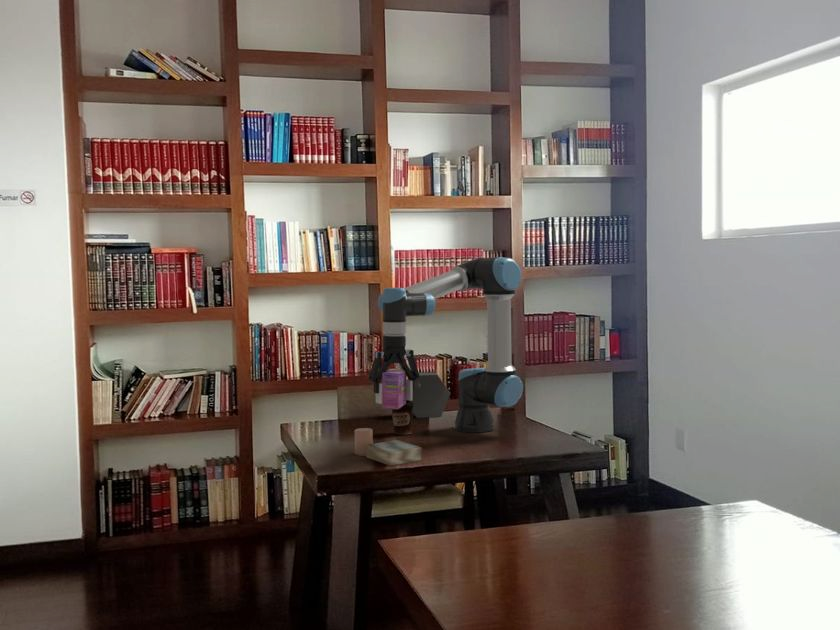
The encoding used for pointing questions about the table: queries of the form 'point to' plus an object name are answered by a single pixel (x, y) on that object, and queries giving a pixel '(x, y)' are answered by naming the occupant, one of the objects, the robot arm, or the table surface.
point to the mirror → (393, 452)
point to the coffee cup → (403, 418)
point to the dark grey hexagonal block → (429, 396)
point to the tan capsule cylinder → (363, 440)
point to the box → (393, 389)
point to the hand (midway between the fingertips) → (394, 401)
